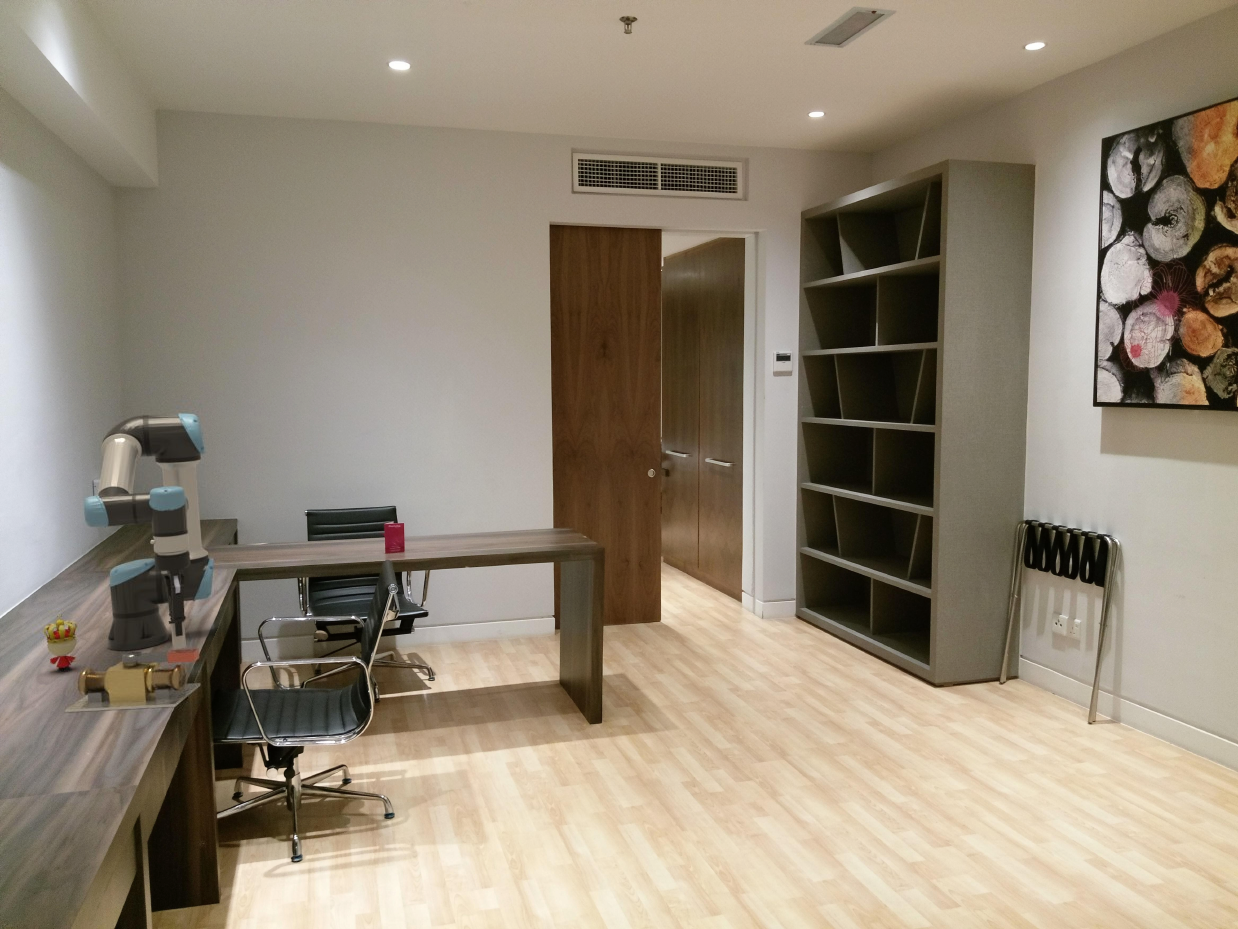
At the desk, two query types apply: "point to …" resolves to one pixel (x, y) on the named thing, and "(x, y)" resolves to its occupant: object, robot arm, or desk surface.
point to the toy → (61, 643)
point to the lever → (160, 657)
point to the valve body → (132, 687)
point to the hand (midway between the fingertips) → (179, 647)
